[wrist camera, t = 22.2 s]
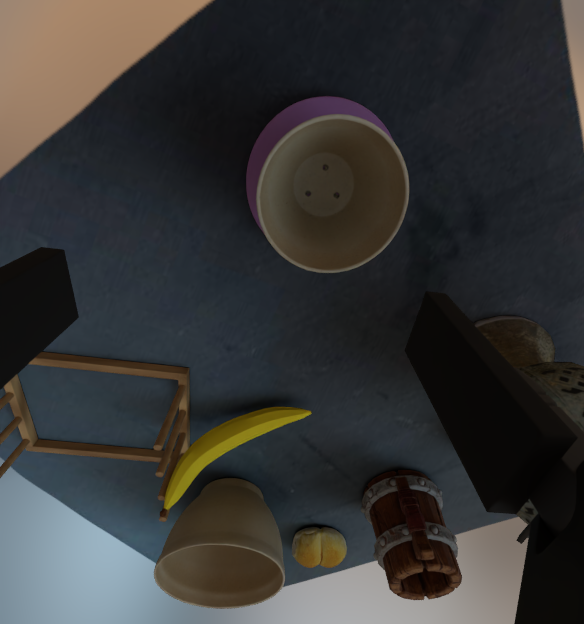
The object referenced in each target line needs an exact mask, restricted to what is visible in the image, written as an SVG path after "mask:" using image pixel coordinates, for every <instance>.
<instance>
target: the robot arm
mask: <svg viewBox="0 0 584 624" xmlns="http://www.w3.org/2000/svg"><path fill="white" fill-rule="evenodd" d="M77 318H79V316H78V312H77V307H76V302H75V298H74V293H73V289H72V284H71V279H70V275H69V270H68V266H67V261H66V256H65V252H64V250H61V249H53V248H44V247H41V248H39V249H37V250H35V251H33V252H31V253H29V254H27V255H25V256H23V257H21V258H19V259H17V260H15V261H13V262H11V263H9V264H7V265H5V266H3V267H1V268H0V389H2V388H3V387H4V386H5V385H6V384H7V383H8V382H9V381H10V380H11V379H12V378H13V377H15V376H16V375H17V374H18V373H19V372H20V371H21V370H22V369H23V368H24V367H25V366H26V365H28V364H29V363H30V362H31V361H32V360H33V359H34V358H35V357H36V356H37V355H38V354H39V353H41V352H42V351H43V350H44V349H45V348H46V347H47V346H48V345H49V344H50V343H51V342H53V341H54V340H55V339H56V338H57V337H58V336H59V335H60V334H61V333H62V332H63V331H64V330H66V329H67V328H68V327H69V326H70V325H71V324H72V323H73V322H74V321H75V320H76V319H77ZM405 352H406V354H407V356H408V358H409V360H410V362H411V364H412V366H413V368H414V370H415V372H416V374H417V376H418V378H419V380H420V381H421V383H422V385H423V387H424V389H425V391H426V393H427V395H428V397H429V399H430V401H431V403H432V405H433V407H434V409H435V411H436V413H437V415H438V417H439V419H440V421H441V423H442V425H443V427H444V429H445V431H446V432H447V434H448V436H449V438H450V440H451V442H452V444H453V446H454V448H455V450H456V452H457V454H458V456H459V458H460V460H461V462H462V464H463V466H464V468H465V470H466V472H467V474H468V476H469V478H470V480H471V482H472V483H473V485H474V487H475V489H476V491H477V493H478V495H479V497H480V499H481V501H482V503H483V505H484V507H485V509H486V511H487V512H494V513H509V514H517V513H518V512H519V511H520V509H521V508H522V507H523V506H524V504H525V503H526V502H527V501H528V499H530V501H531V503H532V504H533V506H534V507H535V509H536V510H537V512H538V514H537V515H536V516H535V517H534V519H533V520H532V521H531V522H530V523H529V524H528V526H527V527H526V528H525V529H524V530H523V531H522V533H521V534H520V535H519V537H518V539H517V541H518V542H520V543H521V544H522V543H523V542H524V540H525V539H526V538H529V540H528V546H527V552H526V558H525V564H524V570H523V576H522V582H521V588H520V594H519V600H518V606H517V612H516V618H515V624H584V432H583V431H582V430H581V429H580V427H579V426H578V425H577V424H576V423H575V422H574V421H573V420H572V419H571V418H570V417H569V416H568V415H567V414H566V413H565V412H564V411H563V410H562V409H561V408H560V407H557V403H556V402H555V401H554V400H553V399H552V398H551V397H550V396H549V395H546V392H545V391H544V390H543V389H542V388H541V387H540V386H539V385H538V384H537V382H536V381H535V380H534V379H532V378H531V377H529V376H528V375H526V374H525V373H524V372H522V371H521V370H519V369H518V368H516V367H513V366H512V365H511V364H510V363H509V362H508V361H507V360H506V359H505V358H504V357H503V356H502V354H501V353H500V352H499V351H498V350H497V349H496V348H495V347H494V346H493V345H492V344H491V342H490V341H489V340H488V339H487V338H486V337H485V336H484V335H483V334H482V333H481V332H480V331H479V329H478V328H477V327H476V326H475V325H474V324H473V323H472V322H471V321H470V320H469V319H468V317H467V316H466V315H465V314H464V313H463V312H462V311H461V310H460V309H459V308H458V307H457V306H456V304H455V303H454V302H453V301H452V300H451V299H450V298H449V297H448V296H447V295H446V294H444V293H435V292H427V291H426V293H425V296H424V298H423V301H422V304H421V307H420V310H419V312H418V315H417V318H416V321H415V323H414V326H413V329H412V332H411V334H410V337H409V340H408V343H407V345H406V348H405Z"/></svg>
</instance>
